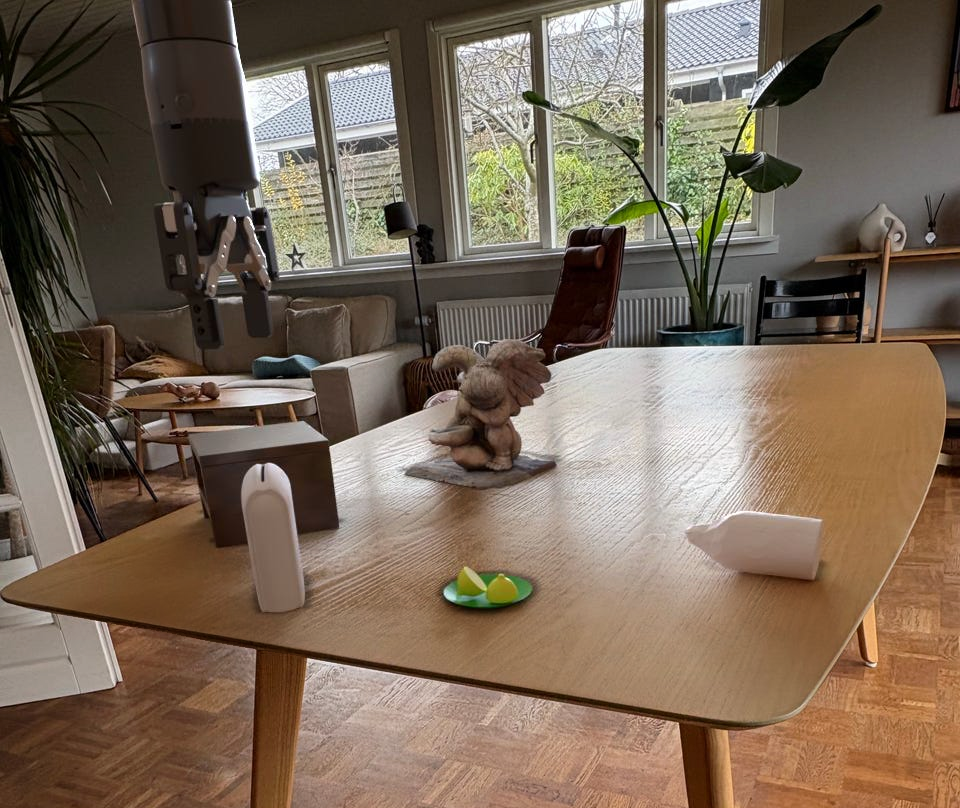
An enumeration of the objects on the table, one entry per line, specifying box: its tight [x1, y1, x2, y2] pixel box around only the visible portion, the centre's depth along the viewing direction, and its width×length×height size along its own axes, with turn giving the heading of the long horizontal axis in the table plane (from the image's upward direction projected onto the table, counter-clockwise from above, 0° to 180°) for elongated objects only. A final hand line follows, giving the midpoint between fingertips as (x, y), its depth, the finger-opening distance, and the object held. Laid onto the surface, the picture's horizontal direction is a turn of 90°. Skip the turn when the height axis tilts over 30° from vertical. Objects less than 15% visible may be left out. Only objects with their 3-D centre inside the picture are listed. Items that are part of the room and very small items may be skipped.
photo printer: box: [241, 463, 306, 613], centre depth 75 cm, size 10×4×12 cm, turn 13°
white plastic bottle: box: [684, 510, 825, 581], centre depth 77 cm, size 6×12×6 cm, turn 63°
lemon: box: [443, 566, 533, 610], centre depth 75 cm, size 8×8×3 cm
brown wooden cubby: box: [187, 420, 340, 548], centre depth 99 cm, size 14×14×10 cm
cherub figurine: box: [403, 338, 557, 490], centre depth 116 cm, size 18×18×18 cm
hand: (237, 342), depth 71 cm, fingers open, 8 cm apart
